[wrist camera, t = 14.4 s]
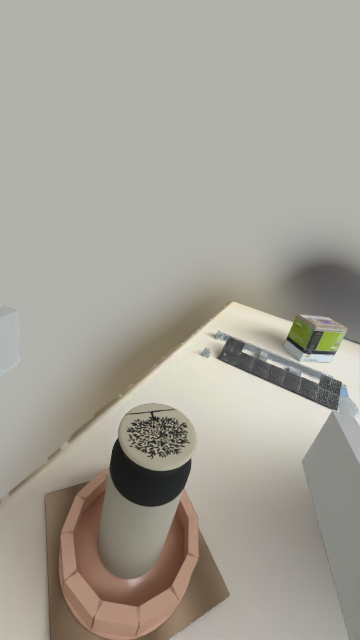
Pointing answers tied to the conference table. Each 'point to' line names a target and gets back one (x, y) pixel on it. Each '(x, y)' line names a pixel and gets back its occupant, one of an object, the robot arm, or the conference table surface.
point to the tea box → (314, 338)
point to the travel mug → (144, 487)
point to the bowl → (116, 593)
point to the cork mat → (196, 601)
